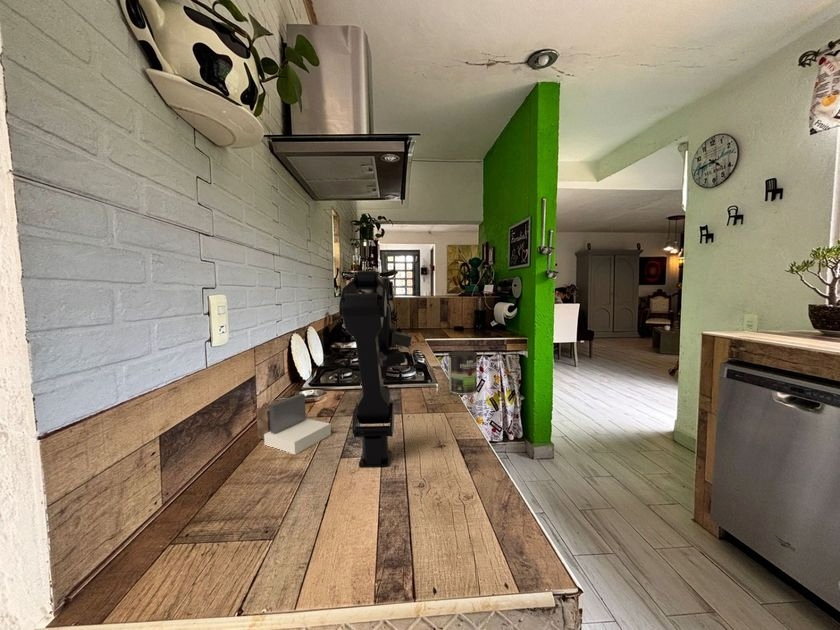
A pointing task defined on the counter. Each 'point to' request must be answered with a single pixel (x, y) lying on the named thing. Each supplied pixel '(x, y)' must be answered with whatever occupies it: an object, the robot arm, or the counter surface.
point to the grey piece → (287, 413)
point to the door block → (298, 436)
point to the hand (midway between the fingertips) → (382, 378)
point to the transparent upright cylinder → (462, 372)
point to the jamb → (263, 420)
